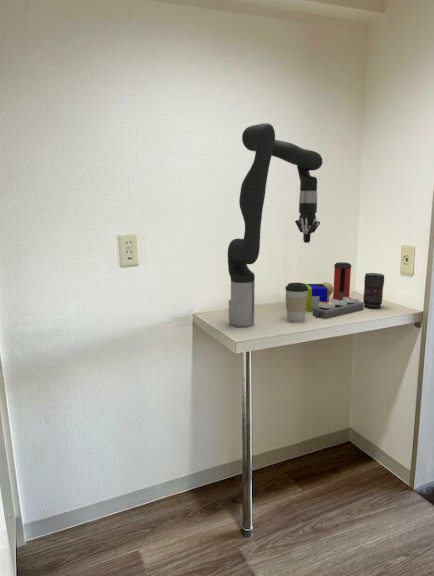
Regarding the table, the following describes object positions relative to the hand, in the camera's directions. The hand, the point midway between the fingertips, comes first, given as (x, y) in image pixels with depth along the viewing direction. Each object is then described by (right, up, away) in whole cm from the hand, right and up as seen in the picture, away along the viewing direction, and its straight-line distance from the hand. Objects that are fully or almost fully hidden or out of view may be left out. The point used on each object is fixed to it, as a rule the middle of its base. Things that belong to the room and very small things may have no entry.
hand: (306, 242), depth 184 cm
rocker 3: (+19, -26, 0) cm, 32 cm away
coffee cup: (-7, -33, -13) cm, 36 cm away
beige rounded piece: (+11, -27, +11) cm, 31 cm away
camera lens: (+30, -29, +5) cm, 42 cm away
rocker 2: (+13, -27, -4) cm, 30 cm away
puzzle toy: (+3, -29, +4) cm, 29 cm away
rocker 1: (+7, -28, -8) cm, 30 cm away
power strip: (+13, -30, -3) cm, 33 cm away
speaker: (+20, -26, +16) cm, 37 cm away
